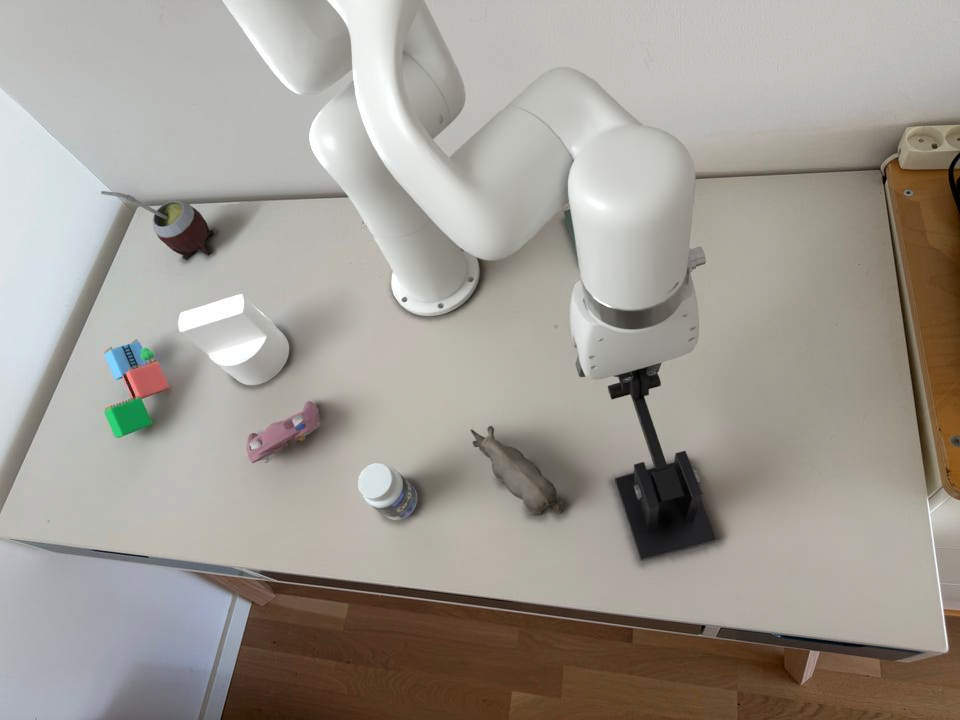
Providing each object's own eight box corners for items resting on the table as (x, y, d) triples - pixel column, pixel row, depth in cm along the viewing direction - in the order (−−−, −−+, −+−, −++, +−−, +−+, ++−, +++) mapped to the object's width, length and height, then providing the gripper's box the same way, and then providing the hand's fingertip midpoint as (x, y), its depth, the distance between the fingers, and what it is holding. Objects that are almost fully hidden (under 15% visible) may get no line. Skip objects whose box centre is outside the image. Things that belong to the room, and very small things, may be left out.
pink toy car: (266, 466, 85) (247, 471, 78) (249, 435, 86) (229, 438, 79) (332, 428, 86) (319, 430, 79) (315, 398, 86) (301, 397, 79)
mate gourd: (227, 239, 104) (168, 174, 91) (191, 275, 102) (125, 213, 89) (201, 220, 107) (141, 154, 94) (166, 254, 105) (99, 192, 92)
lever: (607, 388, 66) (607, 383, 64) (655, 374, 66) (657, 369, 64) (644, 506, 63) (646, 505, 61) (695, 492, 62) (699, 491, 60)
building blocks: (164, 419, 96) (131, 343, 95) (181, 413, 90) (146, 332, 89) (108, 441, 91) (73, 361, 90) (123, 436, 85) (85, 350, 84)
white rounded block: (230, 392, 90) (177, 353, 80) (229, 338, 94) (179, 294, 84) (291, 374, 89) (245, 332, 79) (287, 321, 94) (243, 274, 83)
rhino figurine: (490, 425, 80) (479, 406, 74) (570, 504, 73) (565, 489, 68) (465, 448, 79) (453, 430, 74) (544, 530, 72) (537, 517, 67)
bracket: (614, 481, 73) (610, 446, 63) (684, 462, 72) (692, 423, 62) (640, 561, 69) (640, 537, 59) (715, 542, 68) (728, 514, 58)
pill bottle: (413, 523, 76) (389, 505, 69) (376, 517, 77) (348, 498, 70) (422, 484, 78) (400, 462, 71) (386, 478, 79) (360, 456, 72)
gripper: (713, 212, 49) (696, 331, 65) (523, 270, 51) (552, 372, 67) (754, 290, 46) (725, 396, 61) (548, 351, 47) (572, 439, 63)
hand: (635, 384), depth 64 cm, fingers closed
